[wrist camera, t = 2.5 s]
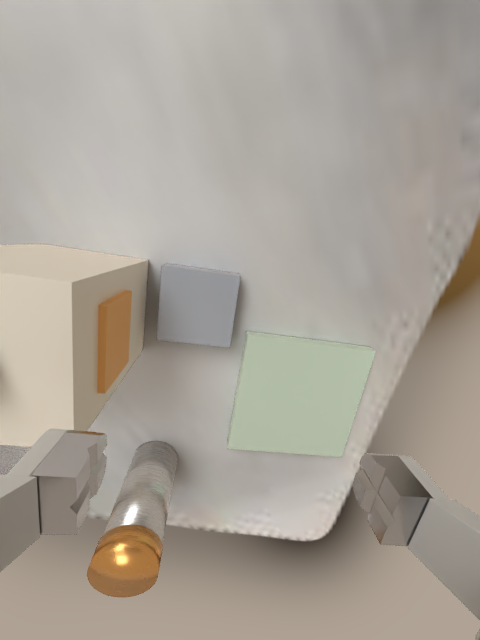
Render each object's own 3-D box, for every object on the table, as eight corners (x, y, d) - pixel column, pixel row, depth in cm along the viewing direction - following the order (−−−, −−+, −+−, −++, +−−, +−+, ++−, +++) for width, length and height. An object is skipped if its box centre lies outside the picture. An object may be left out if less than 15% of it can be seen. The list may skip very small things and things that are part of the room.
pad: (227, 440, 28) (227, 448, 26) (246, 331, 24) (247, 335, 23) (336, 448, 29) (341, 457, 28) (368, 346, 26) (375, 351, 25)
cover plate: (162, 329, 24) (156, 339, 22) (167, 262, 22) (161, 265, 20) (228, 337, 25) (229, 347, 22) (238, 272, 23) (240, 276, 21)
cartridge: (131, 475, 28) (87, 597, 18) (134, 438, 27) (87, 548, 17) (176, 477, 28) (155, 597, 19) (180, 442, 27) (160, 550, 18)
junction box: (47, 338, 23) (-171, 466, 10) (43, 244, 21) (-241, 251, 8) (147, 350, 24) (64, 479, 11) (153, 260, 22) (59, 291, 9)
